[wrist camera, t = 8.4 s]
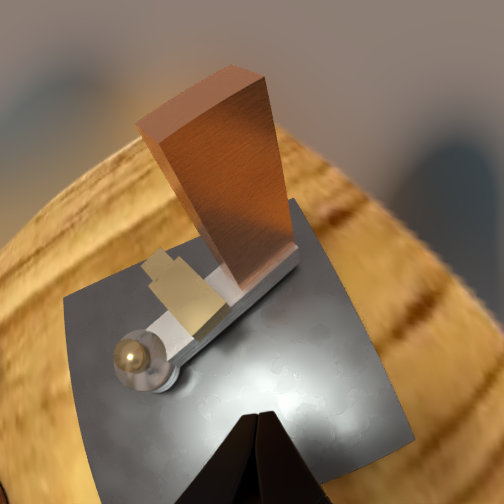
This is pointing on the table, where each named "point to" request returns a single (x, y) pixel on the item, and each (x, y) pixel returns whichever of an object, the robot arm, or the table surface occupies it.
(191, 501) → the robot arm
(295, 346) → the base plate
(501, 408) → the table surface
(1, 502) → the sauce bottle
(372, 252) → the table surface
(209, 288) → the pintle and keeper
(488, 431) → the table surface
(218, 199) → the link
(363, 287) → the table surface
